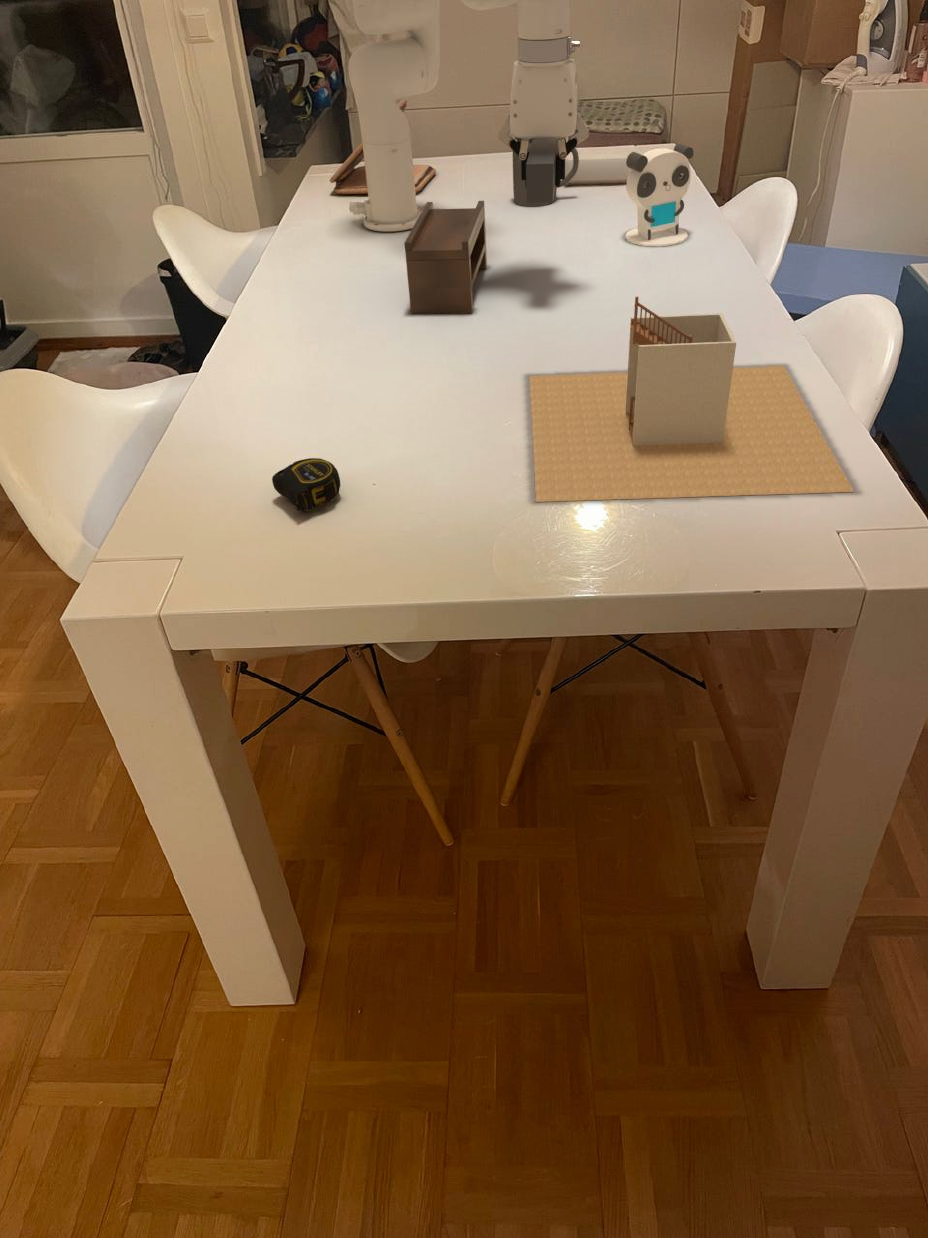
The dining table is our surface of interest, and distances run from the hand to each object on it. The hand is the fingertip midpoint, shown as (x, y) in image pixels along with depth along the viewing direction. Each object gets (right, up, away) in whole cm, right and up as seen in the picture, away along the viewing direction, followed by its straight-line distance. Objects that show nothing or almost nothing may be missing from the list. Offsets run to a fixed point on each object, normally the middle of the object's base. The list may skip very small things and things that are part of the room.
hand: (543, 183), depth 146 cm
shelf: (-15, -13, +11) cm, 23 cm away
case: (-31, +31, +67) cm, 80 cm away
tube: (+22, +27, +56) cm, 66 cm away
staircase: (+14, -45, -31) cm, 56 cm away
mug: (+5, +20, +49) cm, 53 cm away
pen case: (0, 0, 0) cm, 0 cm away
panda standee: (+23, +2, +27) cm, 35 cm away
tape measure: (-31, -56, -39) cm, 75 cm away
